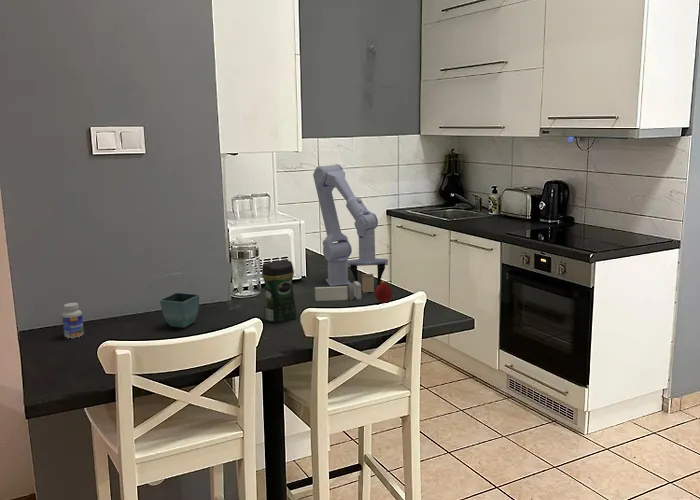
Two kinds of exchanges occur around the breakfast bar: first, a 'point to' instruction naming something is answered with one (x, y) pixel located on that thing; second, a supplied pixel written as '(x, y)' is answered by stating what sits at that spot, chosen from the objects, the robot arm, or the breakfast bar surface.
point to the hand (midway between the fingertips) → (367, 285)
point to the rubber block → (367, 283)
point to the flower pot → (180, 309)
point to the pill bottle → (72, 321)
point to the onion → (383, 292)
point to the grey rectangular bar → (331, 293)
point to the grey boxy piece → (354, 290)
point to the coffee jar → (279, 291)
